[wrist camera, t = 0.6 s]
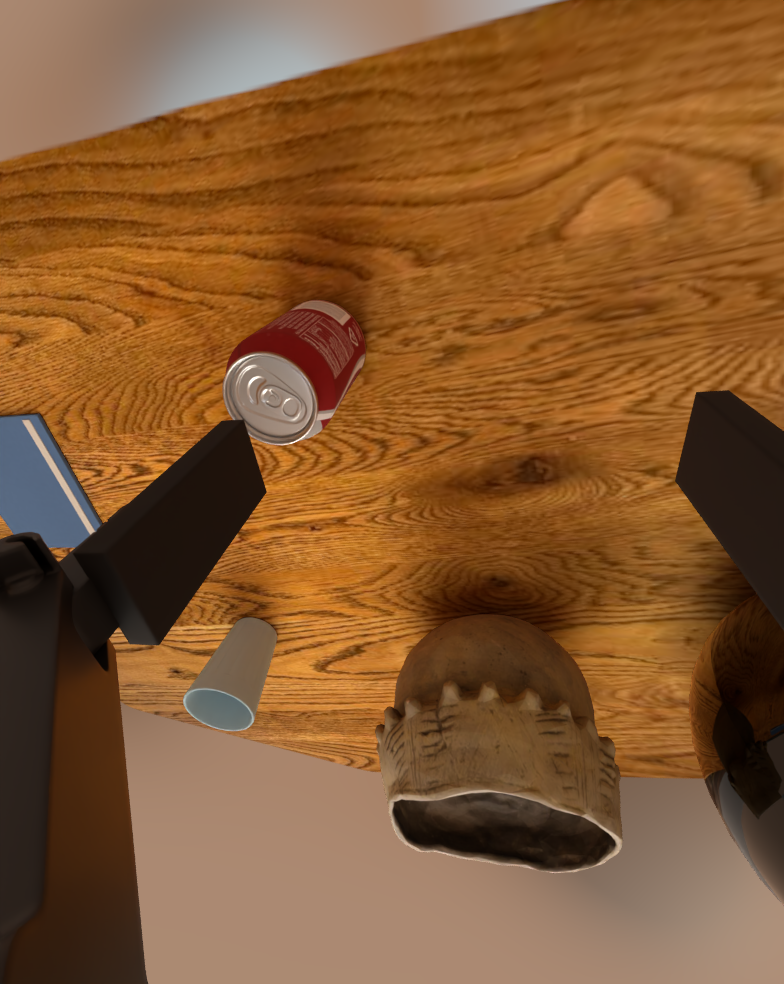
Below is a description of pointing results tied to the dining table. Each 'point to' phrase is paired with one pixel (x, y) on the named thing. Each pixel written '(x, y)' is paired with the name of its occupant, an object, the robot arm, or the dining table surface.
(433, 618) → the dining table surface
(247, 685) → the cup
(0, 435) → the cloth
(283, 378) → the soda can
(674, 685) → the dining table surface
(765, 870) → the ball
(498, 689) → the clay pot
